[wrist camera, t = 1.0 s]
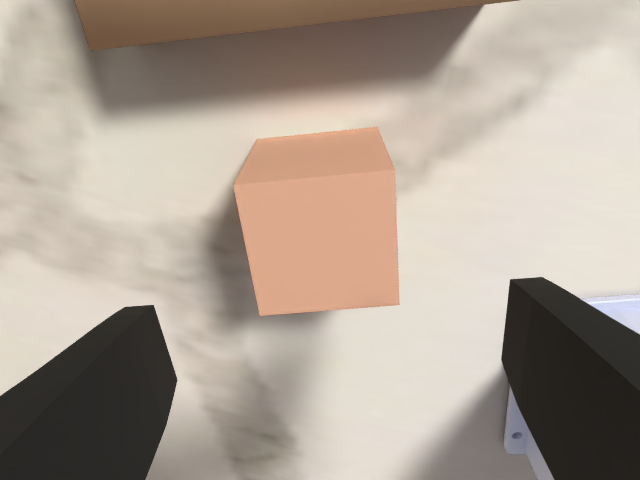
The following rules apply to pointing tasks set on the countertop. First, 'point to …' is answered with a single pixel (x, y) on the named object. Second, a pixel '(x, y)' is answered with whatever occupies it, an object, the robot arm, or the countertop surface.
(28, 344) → the countertop surface
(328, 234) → the terracotta block
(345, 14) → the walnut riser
